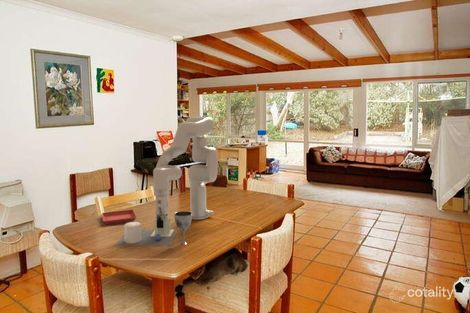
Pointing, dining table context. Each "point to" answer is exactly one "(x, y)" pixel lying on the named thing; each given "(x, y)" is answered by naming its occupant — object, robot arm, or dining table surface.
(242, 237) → the dining table surface
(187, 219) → the wine glass
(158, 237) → the ball
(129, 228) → the white cup
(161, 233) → the sage cup
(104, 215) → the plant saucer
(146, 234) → the mat
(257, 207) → the dining table surface
